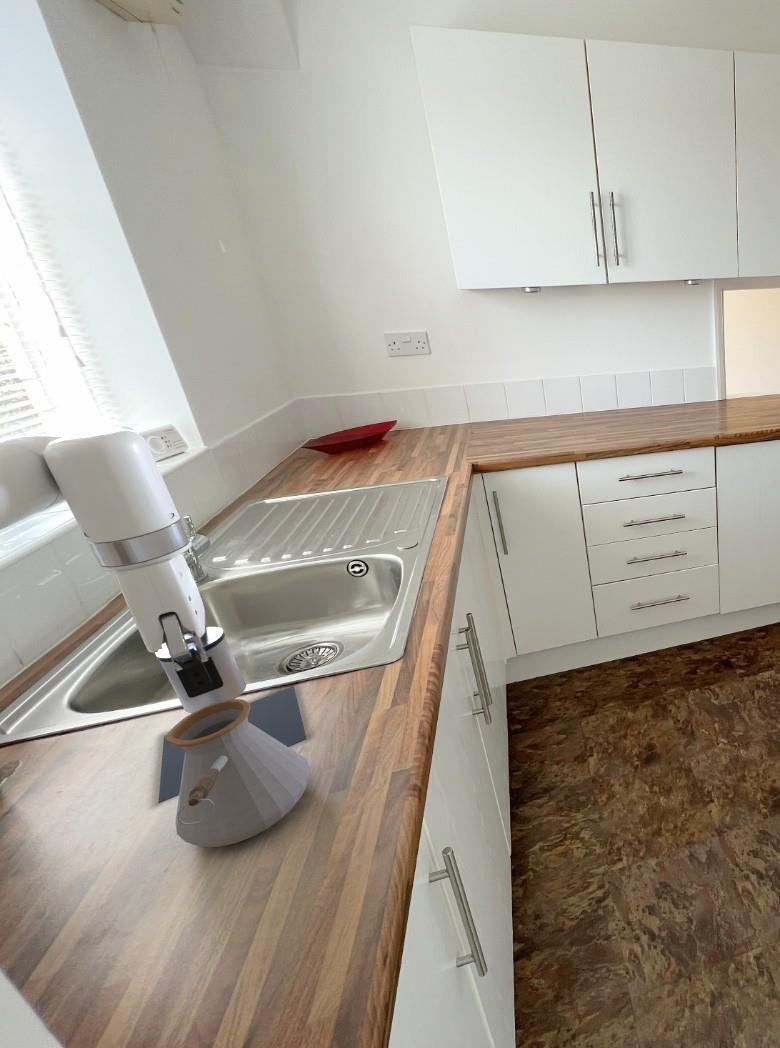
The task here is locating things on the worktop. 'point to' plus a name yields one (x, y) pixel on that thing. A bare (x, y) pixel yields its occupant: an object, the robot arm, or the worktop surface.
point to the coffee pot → (232, 776)
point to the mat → (267, 714)
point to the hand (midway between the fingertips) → (206, 676)
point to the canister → (224, 663)
